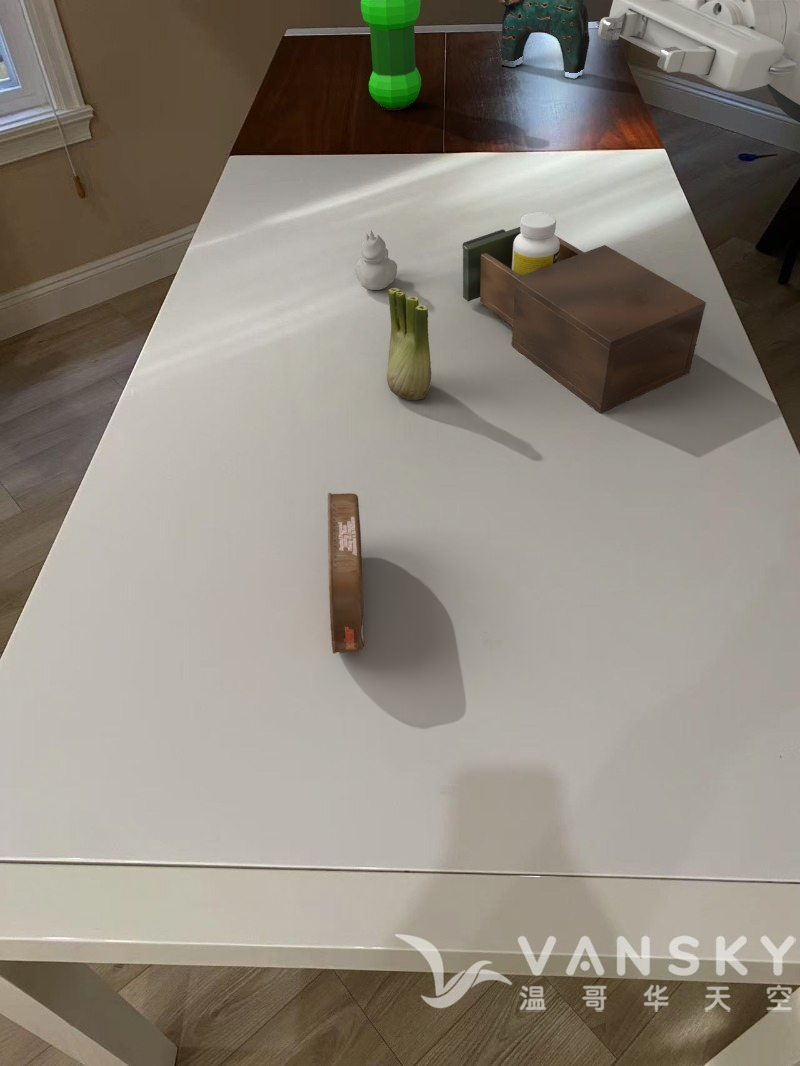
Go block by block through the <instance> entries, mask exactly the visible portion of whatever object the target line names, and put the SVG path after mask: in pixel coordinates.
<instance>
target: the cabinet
mask: <svg viewBox="0 0 800 1066" xmlns="http://www.w3.org/2000/svg"><path fill="white" fill-rule="evenodd" d="M583 252H584V253H582V254H579V255H576V256H573V257H571V258H568V259H565V260H562V261H560V262H557V263H554V264H552V265H549V266H546V267H543V268H541V269H538V270H535V271H532V272H530V273H527V274H524V275H521V276H519V277H516V278H515V289H514V310H513V326H512V331H511V332H512V333H511V347H512V348H513V349H515V350H516V351H517V352H519V353H520V354H521V355H523V356H524V357H525V358H527V359H528V360H529V361H530V362H532V363H533V364H534V365H536V366H537V367H538V368H540V369H541V370H542V371H544V373H546V374H548V375H549V376H550V377H552V378H553V379H554V380H556V382H558V383H559V384H561V385H562V386H563V387H564V388H566V389H567V390H568V391H570V392H571V393H572V394H573V395H575V396H577V397H578V398H579V399H580V400H582V401H583V402H584V403H586V404H587V405H588V406H590V408H592V409H593V410H595V411H596V412H597V413H599V414H602V413H604V412H606V411H609V410H611V409H613V408H616V407H618V406H619V405H622V404H625V403H627V402H629V401H631V400H633V399H636V398H637V397H640V396H642V395H645V394H646V393H649V392H651V391H653V390H656V389H658V388H660V387H662V386H664V385H666V384H668V383H672V382H674V381H675V380H678V379H680V378H682V377H685V376H687V375H689V374H690V373H691V368H692V364H693V360H694V356H695V352H696V348H697V344H698V338H699V334H700V329H701V326H702V323H703V322H702V321H703V317H704V312H705V309H706V306H707V305H706V304H707V302H706V301H705V300H703V299H701V298H699V297H698V296H696V295H694V294H692V293H691V292H689V291H687V290H685V289H684V288H682V287H680V286H678V285H676V284H674V283H673V282H672V281H669V280H667V279H666V278H664V277H662V276H661V275H658V274H657V273H655V272H654V271H651V270H650V269H649V268H647V267H645V266H643V265H641V264H640V263H638V262H636V261H634V260H632V259H631V258H628V257H627V256H625V255H624V254H623V253H622V254H621V253H620V252H618V251H616V250H615V249H613V248H611V247H609V246H608V245H606V244H604V245H603V244H602V245H601V246H598V247H595V248H592V249H589V250H587V251H583Z"/></svg>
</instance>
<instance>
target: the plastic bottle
mask: <svg viewBox="0 0 800 1066" xmlns="http://www.w3.org/2000/svg"><path fill="white" fill-rule="evenodd" d="M421 1H422V0H360V12H361V15H362V19H363V21H364V22H365V23H366V24H367V25H368V26H369V33H370V49H371V50H370V51H371V62H372V63H371V64H372V72H371V74H370V78H369V81H368V90H369V94H370V96H371V98H372V99H373V100H374V101H375V103H377V104H378V105H379V104H380V105H379V106H381V107H382V106H383V107H386V108H397V107H404V106H407V105H409V104H411V103H412V104H413V103H414V102H415V101H416V100H417V99H418V97H419V94H420V92H421V88H422V77H421V74H420V71H419V70H418V68H417V66H416V64H417V63H416V39H415V37H416V36H415V22H416V21H417V20H418V18H419V15H420V14H421V13H420V12H421V6H422V3H421ZM412 104H411V105H412Z"/></svg>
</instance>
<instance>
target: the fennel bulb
mask: <svg viewBox="0 0 800 1066" xmlns="http://www.w3.org/2000/svg"><path fill="white" fill-rule="evenodd" d="M387 292H388V293H387V294H388V303H389V304H388V305H389V312H390V313H389V314H390V337H389V345H388V363H387V371H386V382H387V386H388V388H389V390H390V391H391V392H392V393H393V394H394V395H395V396H397V397H399V398H401V399H403V400H407V401H418V400H419V401H420V400H423V399H425V398H426V396H427V394H428V392H429V390H430V386H431V383H432V367H431V364H432V361H431V352H430V340H429V339H430V338H429V308H428V306H427V305H425V304H423V303H422V304H420V300H419V297H417V296H411V295H410V296H408V297H407V296H406V293H405V292H404V291H402V290H401V289H399V288H398V287H391V288H390V289H388V291H387Z"/></svg>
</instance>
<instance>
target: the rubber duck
mask: <svg viewBox="0 0 800 1066" xmlns="http://www.w3.org/2000/svg"><path fill="white" fill-rule="evenodd" d="M354 272H355V276H356V278H357V280H358V281H359V284H360V286H361V287H363V288H365V289H368V290H372V291H380V290H383V289H386V288H387V287H388V286H389V285H390V284H392V283H393V281H394V280H395V279H396V277H397V274H398V264H397V262H396V261H395V260H394V259H391V258H390V257H389V250H388V248H387V245H386V242H385V240H384V239H383V238H382V237H381V236H380V235H379V234H377V236H375V234H374V233H373V231H372V229H370V231H369V234H368V233H366V234H365V237H364V239H363V242H362V243H361V257H360V258H359V259H358V260H357V261H356V263H355V265H354Z"/></svg>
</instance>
